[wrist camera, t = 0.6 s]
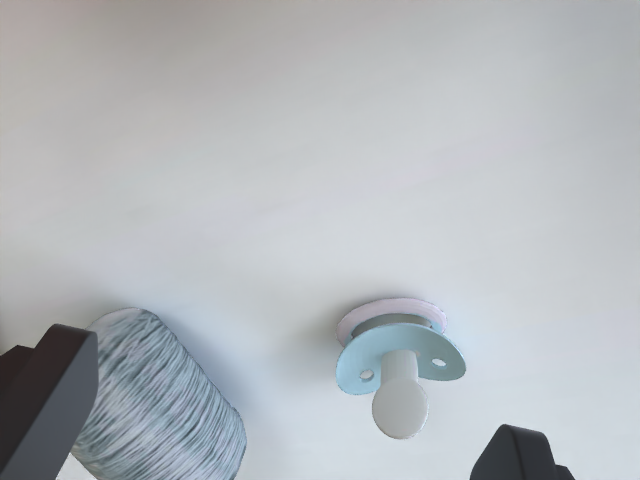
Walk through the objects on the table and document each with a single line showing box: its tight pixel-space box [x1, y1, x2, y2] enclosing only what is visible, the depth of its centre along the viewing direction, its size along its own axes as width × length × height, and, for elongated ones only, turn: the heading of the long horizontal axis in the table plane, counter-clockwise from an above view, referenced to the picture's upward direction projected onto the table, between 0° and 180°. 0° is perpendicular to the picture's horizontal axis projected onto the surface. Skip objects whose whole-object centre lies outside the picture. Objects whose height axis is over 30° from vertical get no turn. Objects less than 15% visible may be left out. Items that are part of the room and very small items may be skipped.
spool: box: [70, 308, 247, 480], centre depth 33 cm, size 14×10×10 cm
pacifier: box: [336, 298, 466, 439], centre depth 30 cm, size 7×6×6 cm
